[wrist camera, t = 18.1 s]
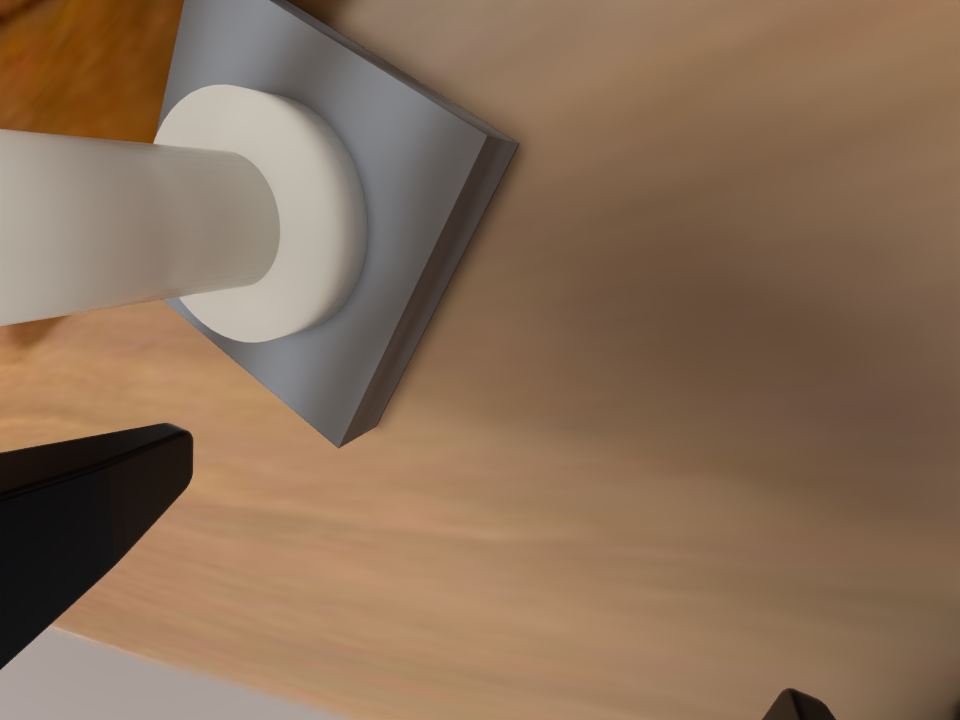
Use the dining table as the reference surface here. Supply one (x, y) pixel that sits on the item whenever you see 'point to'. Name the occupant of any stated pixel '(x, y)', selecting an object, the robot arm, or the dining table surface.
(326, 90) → the grey block
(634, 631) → the dining table surface
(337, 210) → the cream cylindrical piece
